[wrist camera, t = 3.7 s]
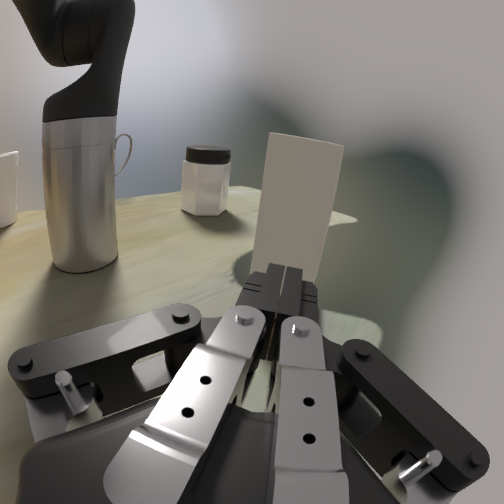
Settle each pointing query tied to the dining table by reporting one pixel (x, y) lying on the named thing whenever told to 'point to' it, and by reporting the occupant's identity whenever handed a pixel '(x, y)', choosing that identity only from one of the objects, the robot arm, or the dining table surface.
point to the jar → (205, 180)
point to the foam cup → (8, 188)
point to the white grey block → (295, 203)
